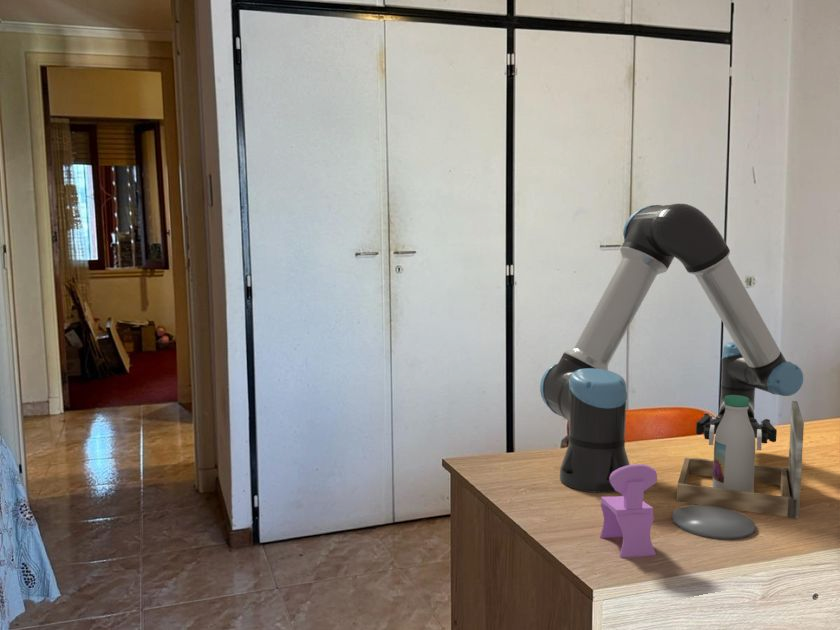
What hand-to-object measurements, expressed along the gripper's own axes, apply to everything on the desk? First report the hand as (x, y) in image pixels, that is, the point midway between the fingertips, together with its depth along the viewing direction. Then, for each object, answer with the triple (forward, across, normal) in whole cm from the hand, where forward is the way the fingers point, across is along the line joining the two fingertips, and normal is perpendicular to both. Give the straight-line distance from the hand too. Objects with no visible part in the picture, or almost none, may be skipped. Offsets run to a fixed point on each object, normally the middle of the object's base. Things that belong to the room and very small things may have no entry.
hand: (734, 441), depth 148 cm
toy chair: (+34, +16, -11) cm, 40 cm away
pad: (+18, +3, -11) cm, 22 cm away
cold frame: (-1, 0, -11) cm, 11 cm away
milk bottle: (-1, 0, -11) cm, 11 cm away
